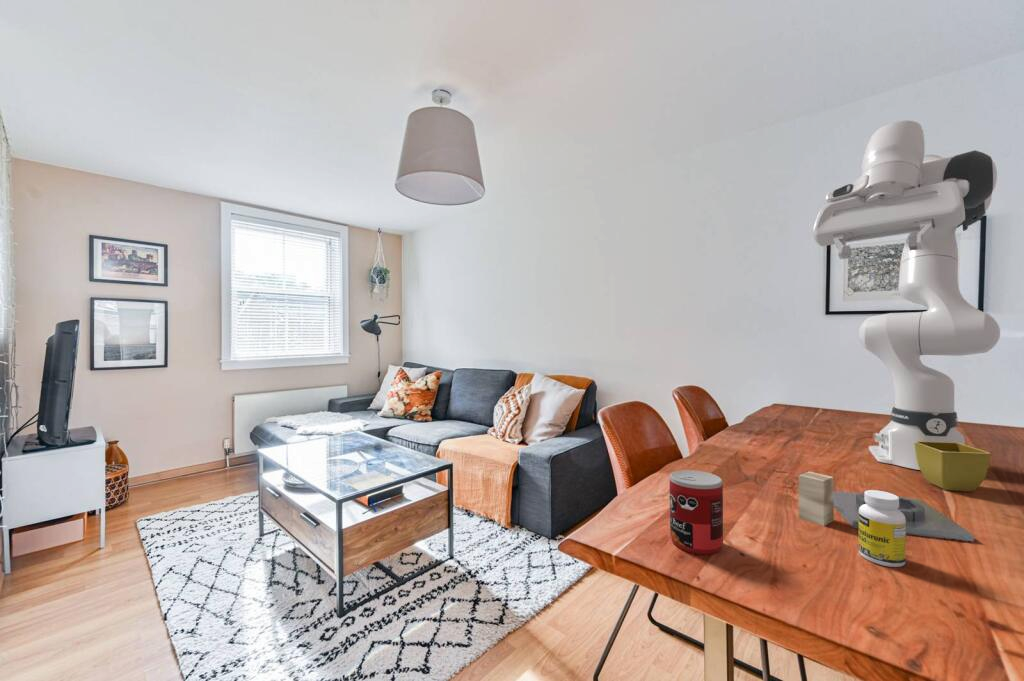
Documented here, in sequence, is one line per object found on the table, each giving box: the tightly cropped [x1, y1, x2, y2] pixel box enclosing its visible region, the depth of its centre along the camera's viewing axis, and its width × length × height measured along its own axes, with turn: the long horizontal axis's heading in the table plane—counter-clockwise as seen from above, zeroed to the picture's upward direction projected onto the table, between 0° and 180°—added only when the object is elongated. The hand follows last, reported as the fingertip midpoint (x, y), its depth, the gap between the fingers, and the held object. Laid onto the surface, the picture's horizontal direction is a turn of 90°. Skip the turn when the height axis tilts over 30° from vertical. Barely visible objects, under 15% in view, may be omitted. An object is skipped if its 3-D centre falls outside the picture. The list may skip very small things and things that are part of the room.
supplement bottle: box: [858, 489, 907, 568], centre depth 65 cm, size 5×5×10 cm
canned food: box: [669, 469, 724, 555], centre depth 70 cm, size 8×8×11 cm
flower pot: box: [914, 441, 992, 492], centre depth 94 cm, size 9×9×9 cm
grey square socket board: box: [834, 490, 975, 543], centre depth 80 cm, size 16×16×3 cm
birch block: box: [798, 470, 835, 527], centre depth 79 cm, size 4×4×8 cm
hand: (877, 252), depth 74 cm, fingers open, 8 cm apart
